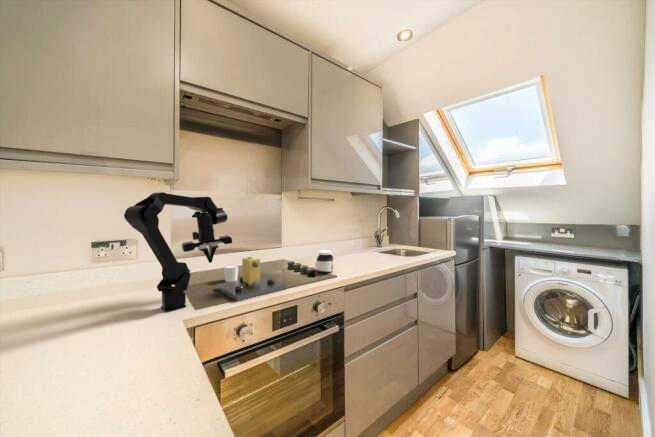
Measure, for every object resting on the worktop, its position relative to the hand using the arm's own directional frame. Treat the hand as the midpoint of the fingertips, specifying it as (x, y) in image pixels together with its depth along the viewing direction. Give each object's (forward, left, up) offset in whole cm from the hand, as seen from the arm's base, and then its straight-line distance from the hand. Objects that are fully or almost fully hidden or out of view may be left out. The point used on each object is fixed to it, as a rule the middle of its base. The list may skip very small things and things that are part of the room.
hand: (210, 262), depth 108 cm
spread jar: (+57, -13, -13) cm, 60 cm away
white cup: (+15, +10, -13) cm, 22 cm away
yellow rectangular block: (+14, -10, -9) cm, 19 cm away
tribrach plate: (+14, -10, -13) cm, 21 cm away
